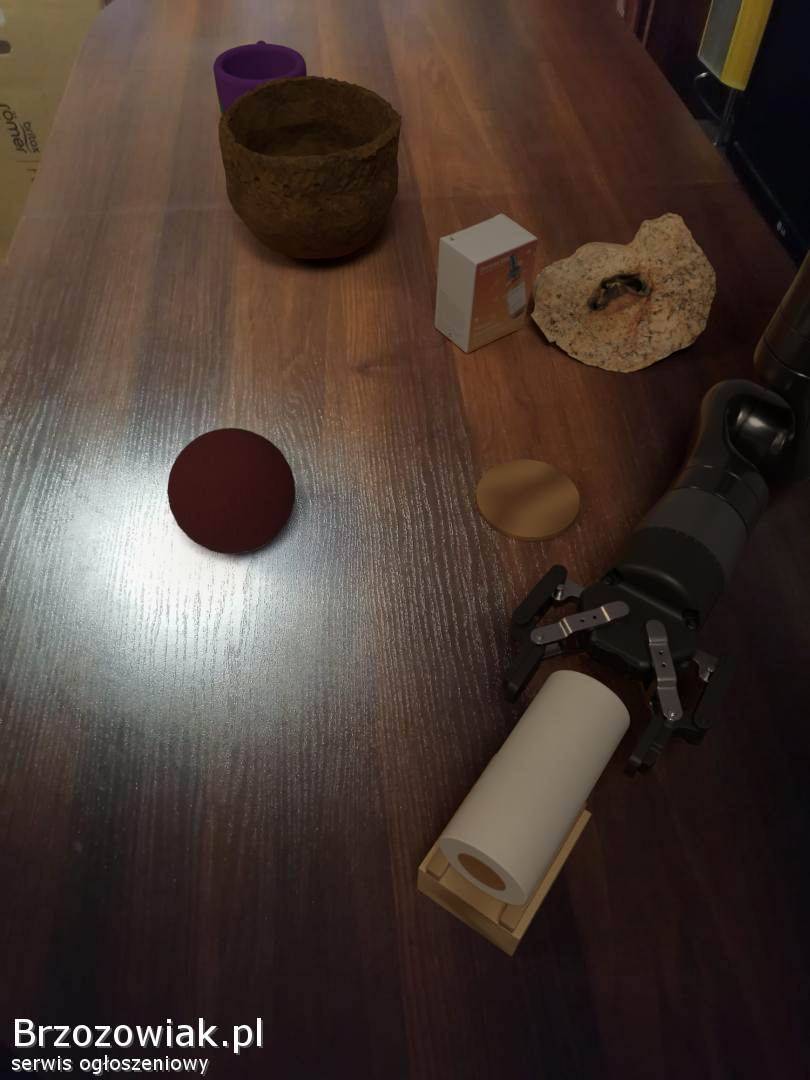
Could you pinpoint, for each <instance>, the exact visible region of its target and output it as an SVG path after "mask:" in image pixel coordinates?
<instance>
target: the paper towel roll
mask: <svg viewBox="0 0 810 1080" xmlns="http://www.w3.org/2000/svg"><path fill="white" fill-rule="evenodd" d="M630 723H631V718H630V714H629V711H628V709H627V707H626V706H625V704H624V703H623V701H622V700H621V699H620V698H619V696H618V695H617V694H616V693H614V691H613V690H611V689H610V688H609V687H607V686H606V685H605V684H604V683H602V682H601V681H599V680H597V679H595V678H593V677H592V676H589V675H587V674H585V673H581V672H578V671H575V670H568V669H562V670H556V671H554V672H552V673H551V674H550V675H548V677H547V679H546V681H545V682H544V683H543V685H542V686H541V688H540V689H539V691H538V692H537V694H535V697H534V698H533V700H532V701H531V703H530V704H529V705H528V707H527V709H526V710H525V712H524V713H523V714H522V715H521V717H520V719H519V720H518V722H517V724H516V725H515V726H514V727H513V729H512V730H511V732H510V734H509V735H508V737H507V738H506V739H505V741H504V743H503V744H502V746H501V747H500V748H499V750H498V751H497V753H496V754H497V755H496V756H495V758H494V759H493V761H492V762H491V764H490V765H489V767H488V768H487V769H486V768H485V769H486V771H485V772H484V774H483V775H482V777H481V778H480V780H479V781H478V783H477V784H476V786H475V787H474V789H473V790H472V792H471V793H470V795H469V796H468V798H467V799H466V801H465V802H464V804H463V805H462V807H461V808H460V810H459V811H458V813H457V814H456V816H455V817H454V819H453V820H452V822H451V823H450V824H449V826H448V827H447V829H446V830H445V832H444V833H443V835H442V836H441V838H440V840H439V846H440V849H441V851H442V853H443V855H444V856H445V857H446V859H447V860H448V861H449V862H450V864H451V865H452V866H453V867H454V868H455V869H456V870H457V871H458V872H459V873H460V874H461V875H462V876H464V877H465V878H466V879H467V880H468V881H470V882H471V883H472V884H474V885H475V886H476V887H478V888H479V889H481V890H482V891H484V892H485V893H487V894H489V895H491V896H492V897H494V898H496V899H498V900H501V901H503V902H506V903H508V904H512V905H518V906H520V905H524V904H525V903H526V902H527V901H528V899H529V897H530V896H531V894H532V892H533V891H534V889H535V887H536V885H537V884H538V882H539V880H540V878H541V877H542V875H543V873H544V872H545V870H546V868H547V866H548V865H549V863H550V861H551V860H552V858H553V856H554V854H555V853H556V851H557V849H558V848H559V846H560V844H561V842H562V841H563V839H564V837H565V835H566V834H567V832H568V830H569V829H570V827H571V825H572V823H573V822H574V820H575V818H576V817H577V815H578V813H579V811H580V810H581V808H582V806H583V805H584V803H585V802H586V801H587V799H588V798H589V796H590V794H591V792H592V791H593V789H594V787H595V786H596V784H597V783H598V780H599V779H600V777H601V776H602V774H603V772H604V770H605V769H606V767H607V765H608V764H609V761H610V760H611V758H612V757H613V755H614V753H615V751H616V750H617V748H618V746H619V744H620V743H621V741H622V739H623V737H624V736H625V734H626V732H627V730H628V729H629V728H630Z"/></svg>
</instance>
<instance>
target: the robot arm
mask: <svg viewBox="0 0 810 1080" xmlns="http://www.w3.org/2000/svg"><path fill="white" fill-rule="evenodd" d="M752 363H753V368H754V371H755V373H756V375H757V377H758V378H759V380H760V381H761V382H762V384H764V385H765V386H766V387H765V386H763V385H761V384H760V383H757V382H755V381H754V380H750V379H749V378H748V379H747V378H745V377H730V378H726V379H723V380H720V381H719V382H717V383H715V384H713V385H712V386H711V387H710V388H709V389H708V390H706V392H705V393H704V395H703V396H702V397H701V399H700V400H699V403H698V405H697V406H696V409H695V411H694V414H693V417H692V421H691V425H690V429H689V435H688V439H687V447H686V451H685V454H684V455H685V456H684V458H683V461H682V463H681V466H680V467H679V469H678V471H677V473H676V474H675V476H674V478H673V479H672V481H670V483H669V485H668V486H667V488H666V489H665V490H664V492H663V493H662V495H661V497H660V498H659V499H658V500H657V502H656V503H655V504H654V505H653V506H652V507H651V508H650V509H649V510H648V511H647V512H646V513H645V514H644V515H643V517H642V518H641V519H640V521H639V522H638V523H637V525H636V526H635V528H634V529H633V531H632V532H631V534H629V536H628V538H627V539H626V541H625V542H624V544H623V545H622V547H621V549H619V551H618V552H617V554H616V556H615V557H614V558H613V560H612V561H611V562H610V564H609V566H608V567H607V569H605V571H604V573H603V574H602V576H601V577H600V579H599V580H597V582H596V583H594V584H593V585H591V586H588V587H586V588H585V587H583V585H580V584H578V583H577V582H575V581H573V580H572V579H570V578H568V574H569V573H568V572H569V571H568V569H567V568H566V567H565V566H564V565H562V564H554V565H553V566H551V567H550V569H548V571H547V572H546V573H545V574H544V576H543V577H542V578H541V579H540V580H539V581H538V582H537V584H536V585H535V586H534V587H533V588H532V589H531V590H530V591H529V593H528V594H527V595H526V596H525V597H524V599H523V600H522V601H521V602H520V604H518V605H517V607H516V608H515V609H514V610H513V612H512V614H511V619H510V624H509V628H508V632H507V636H508V638H509V640H510V641H512V642H513V643H517V644H518V646H520V648H521V649H520V650H519V652H518V653H517V654H516V656H515V657H514V658H513V659H512V661H511V662H510V664H509V665H508V667H507V668H506V669H505V671H504V676H503V679H502V680H503V681H502V686H501V689H502V691H504V696H503V700H504V701H505V702H506V703H509V704H510V705H512V706H514V705H515V704H516V703H517V701H518V700H519V698H520V697H521V696H522V694H523V692H524V691H525V690H526V688H527V687H528V685H529V684H530V683H531V681H532V679H533V678H534V677H535V675H536V674H537V672H538V671H539V670H540V668H541V664H542V662H545V661H547V660H551V659H555V658H558V657H561V658H563V659H567V658H570V657H574V656H578V655H580V654H585V653H586V654H587V655H588V661H591V662H592V663H593V664H596V665H598V666H600V667H602V668H603V667H604V668H606V669H610V670H611V671H612V672H614V673H615V674H616V675H617V676H618V677H619V678H620V679H622V680H624V681H626V682H627V683H630V684H631V683H632V681H633V682H639V684H640V688H641V693H642V696H643V701H644V704H645V706H647V707H648V710H649V715H650V719H651V720H650V722H649V724H648V726H647V728H646V729H645V731H644V733H643V735H642V736H641V738H640V740H639V742H638V744H636V747H635V749H634V751H633V752H632V754H631V756H630V757H629V759H628V761H627V763H626V764H625V766H624V769H623V770H622V774H624V775H626V776H628V777H629V778H631V779H634V777H635V775H636V773H639V774H642V775H644V776H645V775H647V774H648V773H651V771H652V770H653V767H654V766H655V765H656V763H657V761H658V759H659V757H660V756H661V754H662V752H663V751H664V748H665V746H666V745H667V743H668V741H669V740H670V739H673V738H679V739H683V740H684V741H685V742H686V743H687V744H688V745H690V746H699V745H700V744H702V742H703V741H704V740H705V738H706V735H707V733H708V731H710V730H711V729H712V727H713V725H714V724H715V722H716V719H717V716H718V714H719V711H720V709H721V707H722V705H723V702H724V700H725V698H726V695H727V693H728V690H729V688H730V686H731V683H732V681H733V678H734V675H735V674H736V671H737V670H738V667H739V662H738V659H736V658H735V656H732V655H731V654H722V655H721V656H720V657H719V658H718V657H716V656H714V655H711V654H709V653H707V652H705V651H703V650H702V649H699V648H698V642H697V640H698V639H697V638H698V636H699V634H700V632H701V630H702V629H703V627H704V626H705V624H706V622H707V620H708V618H709V616H710V615H711V613H712V612H713V609H714V608H715V606H716V604H717V603H718V601H719V599H720V597H721V595H722V594H723V593H724V592H725V591H726V590H727V588H728V586H729V583H730V580H731V578H732V576H733V574H735V571H736V569H737V567H738V565H739V562H740V559H741V556H742V553H743V550H744V548H745V546H746V544H747V543H748V541H749V540H750V538H751V536H752V534H753V533H754V531H755V529H756V527H757V526H758V524H759V522H760V520H761V518H762V517H763V515H764V514H765V512H766V509H767V506H768V503H769V498H770V492H769V491H772V492H787V491H790V490H793V489H796V488H798V487H800V486H802V485H804V484H805V483H806V482H808V481H809V480H810V246H809V247H808V249H807V251H806V254H805V256H804V258H803V260H802V261H801V264H800V266H799V268H798V270H797V271H796V273H795V275H794V278H793V279H792V281H791V282H790V284H789V286H788V288H787V290H786V291H785V293H784V295H783V297H782V299H781V301H780V302H779V304H778V306H777V308H776V309H775V310H774V313H773V315H772V317H771V319H770V320H769V322H768V324H767V325H766V328H765V330H764V332H763V333H762V335H761V337H760V338H759V341H758V342H757V345H756V347H755V349H754V353H753V356H752ZM567 604H575V605H576V613H575V614H571V615H568V616H565V617H563V618H561V620H560V621H558V622H556V623H551V624H548V625H544V626H541V627H538V624H539V623H540V621H542V619H543V618H544V617H545V616H546V615H547V614H548V612H549V611H550V610H551V608H553V609H555V610H557V609H560V608H562V607H565V606H566V605H567ZM688 667H691V669H693V671H694V673H695V676H694V682H695V684H696V685H697V688H698V689H700V690H702V691H701V693H700V695H699V698H698V699H697V702H696V704H695V706H694V709H693V711H689V710H684V709H683V708H682V705H681V701H680V698H679V693H678V689H677V684H678V680H677V679H678V678H677V674H676V672H678V671H682V670H685V669H687V668H688Z"/></svg>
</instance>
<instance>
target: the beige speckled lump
mask: <svg viewBox="0 0 810 1080" xmlns="http://www.w3.org/2000/svg"><path fill="white" fill-rule="evenodd" d="M541 271H542V272H541V274H539V273H537V276H536V278H535V280H534V281H533V285H532V286H533V290H532V292H531V293H532V297H533V302H534V309H533V312H532V313H531V314H530V317H531V318H532V319H533V321H534V322H535V324H536V325H537V326H538V328H539V329H540V330H541V332H542V333H543V334H544V336H545V337H546V339H547V340H548V342H549V343H552V342H553V343H554V342H555V344H556V346H558V347H559V348H560V349H561V350H563V351H565V352H567V355H568V356H570V357H571V358H574V359H576V360H577V361H579V362H582V363H583V364H584V365H588V366H592V367H598V368H601V369H602V370H605V371H613V372H620V373H626V374H628V373H631V372H635V371H638V370H642V369H643V370H644V369H645V368H647V367H649V366H651V365H653V364H655V363H656V362H659V361H660V360H663V359H664V358H667V357H668V356H670V355H671V354H672V353H674V352H675V353H676V351H679V350H682V349H685V348H688V347H689V346H691V345H694V344H695V342H696V340H697V339H698V337H699V336H700V335H701V333H702V332H703V331H705V329H706V327H707V321H708V320H709V315H710V311H711V308H712V305H711V304H712V303H713V300H714V298H715V294H717V287H716V285H717V280H716V279H717V277H716V275H717V274H716V271H715V268H713V265H712V264H711V263H710V261H709V260H708V258H707V256H706V254H705V252H704V251H703V249H702V247H701V246H700V245H698V244H697V243H696V240H695V239H694V238H693V236H692V232H691V231H690V230H689V229H688V227H687V225H686V224H685V222H684V220H683V217H682V216H681V215H678V214H676V213H671V212H667V213H665V214H663V215H662V216H660V217H658V218H654V219H645V220H644V221H643V222H642V223H641V225H640V227H639V229H638V231H637V233H636V234H635V235H634V239H633V240H632V241H631V242H629V243H628V244H619V243H610V242H604V241H593V242H587V243H585V244H583V245H581V246H580V247H578V248H577V249H576V250H575V252H574V253H573V254H571V255H570V256H569V257H566V258H562V259H559V260H557V261H552V264H546V265H544V266H543V267H541Z"/></svg>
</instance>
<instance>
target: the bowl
mask: <svg viewBox="0 0 810 1080" xmlns="http://www.w3.org/2000/svg"><path fill="white" fill-rule="evenodd" d="M402 125H403V123H402V115H400V114H399V113H398V112H397V111H396V110H395V108H393V106H392V104H391V103H390V102H388V101H387V100H386V99H385V98H384V97H381V96H380V95H379V94H378V93H377V92H376V91H374V90H371V89H367V88H365V87H364V86H361V85H358V84H357V83H350V82H348V81H346V80H338V79H337V78H332V77H328V78H325V77H324V76H317V75H307V76H299V77H291V76H290V77H283V78H279V79H277V80H274V79H272V80H270V81H268V82H266V83H263V84H260V85H258V86H257V87H256V88H253V89H250V90H248V91H247V92H245V93H244V94H243V95H240V96H238V97H237V98H236V100H235V101H234V102H233V103H232V105H231V106H230V107H229V109H228V110H226V111H225V112H224V113H223V114H222V115H220V118H219V121H218V127H217V128H218V141H219V142H218V143H219V147H220V152H221V153H220V154H221V158H222V159H221V160H222V165H223V168H224V174H225V189H226V194H227V198H228V201H229V202H230V205H231V207H232V209H233V211H234V212H235V214H236V215H237V216H238V217H239V219H240V220H241V221H242V222H243V224H244V225H245V227H246V228H247V229H248V230H249V231H250V233H251V234H252V235H253V236H254V237H255V238H256V239H257V241H259V242H260V243H261V244H262V245H264V246H265V247H266V248H268V249H269V250H271V251H273V253H274V252H275V253H277V254H281V255H284V256H287V257H291V258H297V259H305V260H308V259H309V260H310V259H311V260H320V259H332V258H338V257H343V256H345V255H349V254H351V253H353V252H355V251H356V250H358V249H359V248H361V247H362V246H364V245H366V244H367V243H368V242H369V241H370V240H371V239H372V238H373V237H374V236H375V234H376V233H377V232H378V231H379V229H380V227H381V226H382V225H383V223H384V221H385V220H386V218H387V216H388V214H389V212H390V211H391V209H392V206H393V203H394V202H395V199H396V196H397V194H398V192H399V191H398V190H399V174H400V173H399V172H400V171H399V170H400V168H399V163H398V155H399V142H400V141H399V140H400V135H401V126H402Z"/></svg>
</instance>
